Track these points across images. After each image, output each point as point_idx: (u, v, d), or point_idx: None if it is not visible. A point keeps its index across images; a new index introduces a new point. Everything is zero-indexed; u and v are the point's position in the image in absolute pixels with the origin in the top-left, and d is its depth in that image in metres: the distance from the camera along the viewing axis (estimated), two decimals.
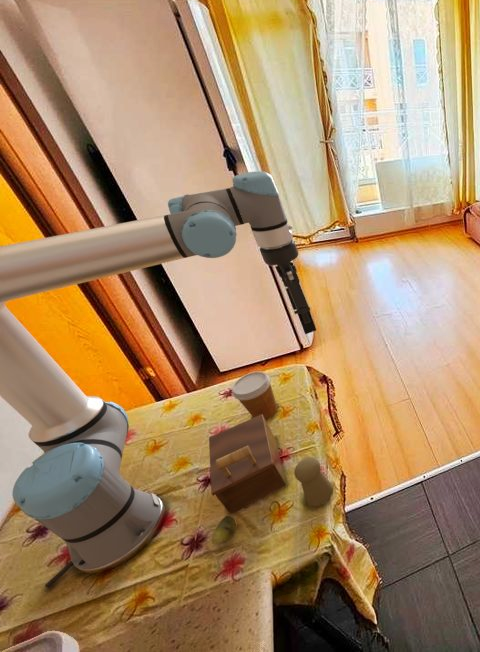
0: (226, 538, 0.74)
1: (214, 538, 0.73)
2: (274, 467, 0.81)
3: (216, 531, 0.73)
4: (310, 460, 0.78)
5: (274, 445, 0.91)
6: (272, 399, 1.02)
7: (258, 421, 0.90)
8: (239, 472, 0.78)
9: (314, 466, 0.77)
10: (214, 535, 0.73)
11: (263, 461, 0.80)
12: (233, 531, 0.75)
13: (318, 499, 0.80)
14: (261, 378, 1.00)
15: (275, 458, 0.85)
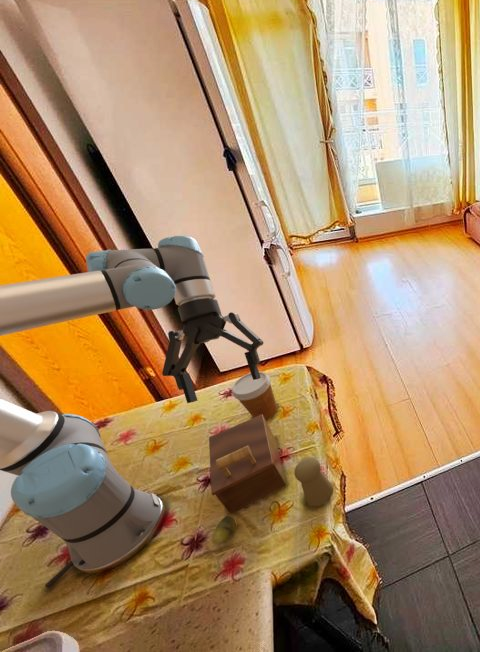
0: (226, 538, 0.74)
1: (214, 538, 0.73)
2: (274, 467, 0.81)
3: (216, 531, 0.73)
4: (310, 460, 0.78)
5: (274, 445, 0.91)
6: (272, 399, 1.02)
7: (258, 421, 0.90)
8: (239, 472, 0.78)
9: (314, 466, 0.77)
10: (214, 535, 0.73)
11: (263, 461, 0.80)
12: (233, 531, 0.75)
13: (318, 499, 0.80)
14: (261, 378, 1.00)
15: (275, 458, 0.85)
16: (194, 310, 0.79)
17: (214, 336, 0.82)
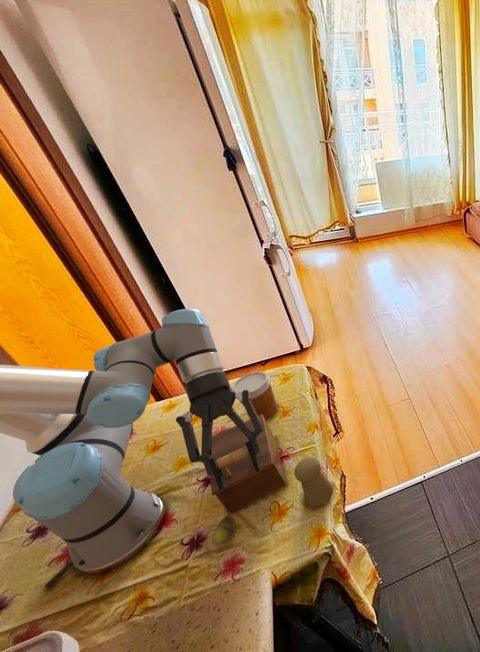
0: (226, 538, 0.74)
1: (214, 538, 0.73)
2: (274, 467, 0.81)
3: (216, 531, 0.73)
4: (310, 460, 0.78)
5: (274, 445, 0.91)
6: (272, 399, 1.02)
7: None
8: (239, 472, 0.78)
9: (314, 466, 0.77)
10: (214, 535, 0.73)
11: (263, 461, 0.80)
12: (233, 531, 0.75)
13: (318, 499, 0.80)
14: (261, 378, 1.00)
15: (275, 458, 0.85)
16: (206, 385, 0.75)
17: None
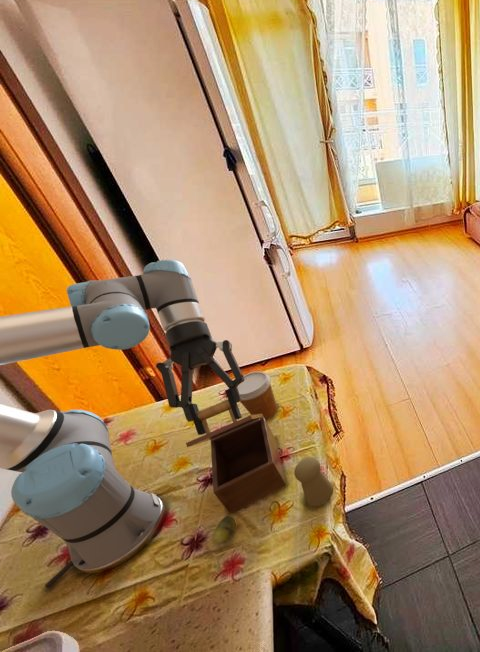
0: (226, 538, 0.74)
1: (214, 538, 0.73)
2: (274, 467, 0.81)
3: (216, 531, 0.73)
4: (310, 460, 0.78)
5: (274, 445, 0.91)
6: (272, 399, 1.02)
7: None
8: None
9: (314, 466, 0.77)
10: (214, 535, 0.73)
11: None
12: (233, 531, 0.75)
13: (318, 499, 0.80)
14: (261, 378, 1.00)
15: (275, 458, 0.85)
16: (186, 333, 0.76)
17: None
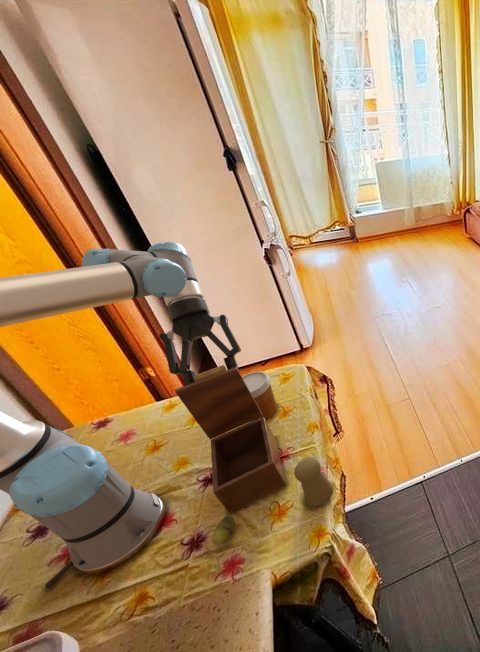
0: (226, 538, 0.74)
1: (214, 538, 0.73)
2: (274, 467, 0.81)
3: (216, 531, 0.73)
4: (310, 460, 0.78)
5: (274, 445, 0.91)
6: (272, 399, 1.02)
7: None
8: None
9: (314, 466, 0.77)
10: (214, 535, 0.73)
11: None
12: (233, 531, 0.75)
13: (318, 499, 0.80)
14: (261, 378, 1.00)
15: (275, 458, 0.85)
16: (186, 307, 0.85)
17: (204, 333, 0.87)
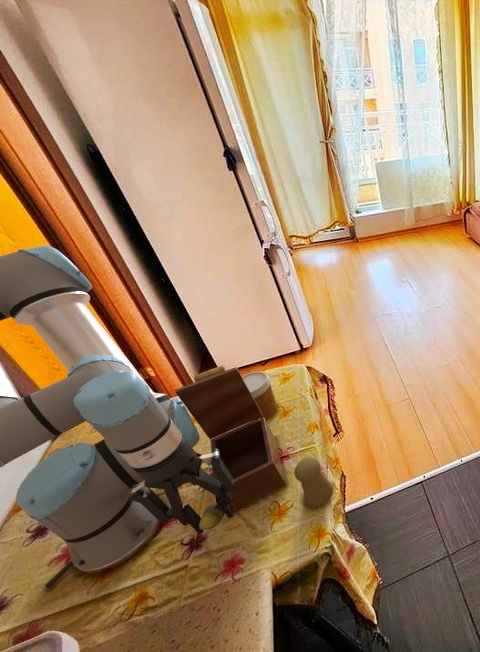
0: (214, 524, 0.71)
1: (201, 524, 0.70)
2: (274, 467, 0.81)
3: (203, 516, 0.70)
4: (310, 460, 0.78)
5: (274, 445, 0.91)
6: (272, 399, 1.02)
7: None
8: None
9: (314, 466, 0.77)
10: (201, 520, 0.70)
11: None
12: (221, 517, 0.72)
13: (318, 499, 0.80)
14: (261, 378, 1.00)
15: (275, 458, 0.85)
16: None
17: None
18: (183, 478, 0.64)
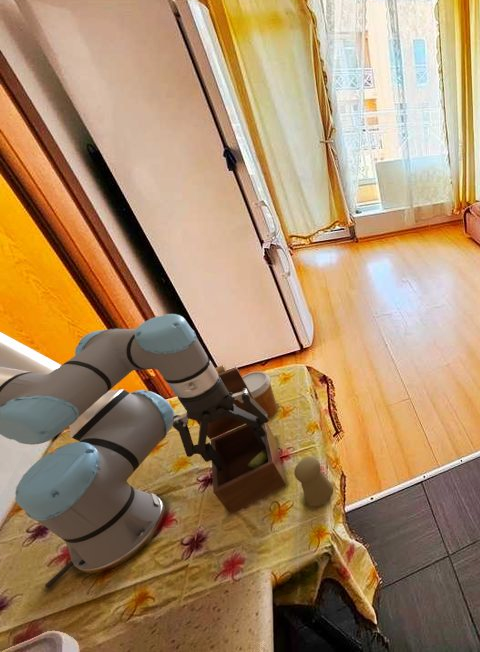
0: (261, 464, 0.86)
1: (256, 457, 0.85)
2: (274, 467, 0.81)
3: (261, 452, 0.86)
4: (310, 460, 0.78)
5: (274, 445, 0.91)
6: (272, 399, 1.02)
7: None
8: None
9: (314, 466, 0.77)
10: (258, 455, 0.86)
11: None
12: None
13: (318, 499, 0.80)
14: (261, 378, 1.00)
15: (275, 458, 0.85)
16: None
17: None
18: (219, 412, 0.75)
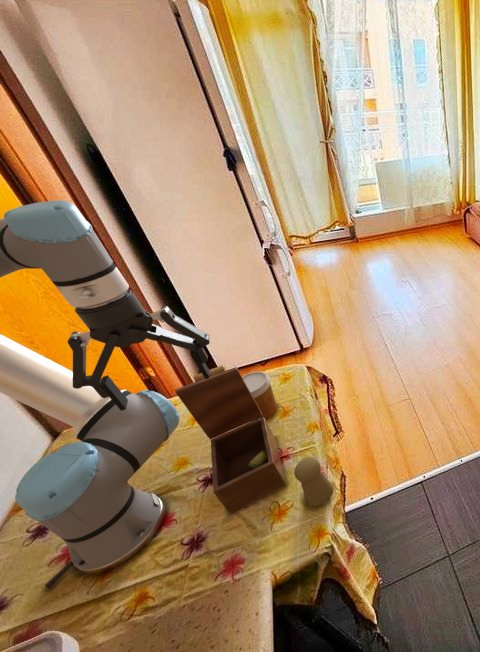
0: (261, 464, 0.86)
1: (256, 457, 0.85)
2: (274, 467, 0.81)
3: (261, 452, 0.86)
4: (310, 460, 0.78)
5: (274, 445, 0.91)
6: (272, 399, 1.02)
7: None
8: None
9: (314, 466, 0.77)
10: (258, 455, 0.86)
11: None
12: None
13: (318, 499, 0.80)
14: (261, 378, 1.00)
15: (275, 458, 0.85)
16: None
17: None
18: (133, 334, 0.62)
